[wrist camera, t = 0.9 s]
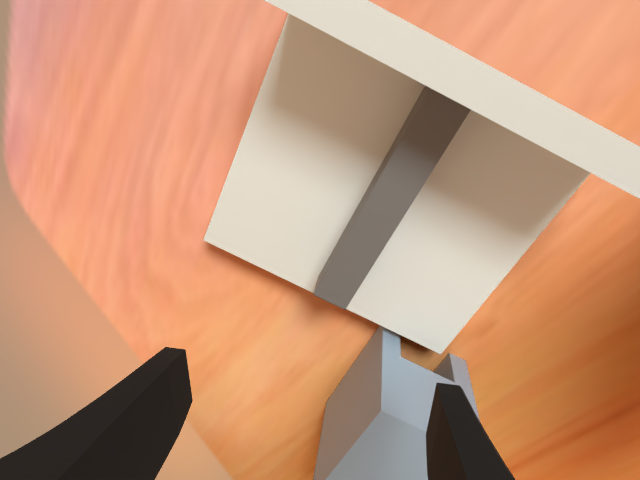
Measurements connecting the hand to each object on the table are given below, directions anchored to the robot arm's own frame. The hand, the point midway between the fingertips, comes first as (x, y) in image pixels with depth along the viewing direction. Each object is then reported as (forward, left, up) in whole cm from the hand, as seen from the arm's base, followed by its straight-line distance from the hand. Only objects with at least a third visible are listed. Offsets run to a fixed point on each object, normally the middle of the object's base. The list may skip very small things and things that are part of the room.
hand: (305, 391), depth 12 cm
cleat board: (0, -3, -10) cm, 10 cm away
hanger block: (-6, +7, -10) cm, 13 cm away
